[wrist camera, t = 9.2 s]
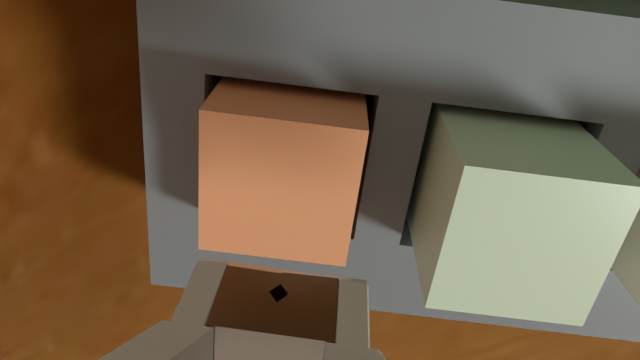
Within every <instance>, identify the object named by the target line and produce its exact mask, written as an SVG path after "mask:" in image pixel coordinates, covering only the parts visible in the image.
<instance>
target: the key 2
mask: <svg viewBox="0 0 640 360" xmlns="http://www.w3.org/2000/svg"><path fill="white" fill-rule="evenodd" d="M636 177H638V178H639V179H640V167H639V169H638V171H637V174H636ZM611 269H612V270H613V272H614V273H615V274H616V276H617V277H618V279H619V280H620V281H621V283H622V284H623V285H624V287H625V288H626V289H627V291H628V292H629V293H630V295H631V296H632V297H633V299H634V300H635V302H636V303H637V304H638V306H639V307H640V209H639V211H638V213H637V215H636V217H635V219H634V221H633V223H632V225H631V227H630V229H629V231H628V233H627V236H626V238H625V240H624V242H623V244H622V246H621V248H620V250H619V252H618V254H617V256H616V258H615V260H614V262H613V265H612V267H611Z"/></svg>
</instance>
